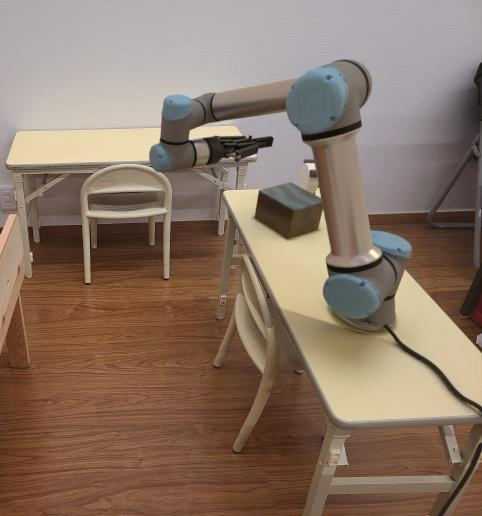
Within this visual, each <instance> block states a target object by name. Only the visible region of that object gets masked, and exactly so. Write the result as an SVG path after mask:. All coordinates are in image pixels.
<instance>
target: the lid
mask: <svg viewBox="0 0 482 516" xmlns="http://www.w3.org/2000/svg"><path fill="white" fill-rule="evenodd" d="M299 186H300V185H298V184H296V183H293V182H286V183H282V184H278V185H273V186H269V187H266V188H262V189H259V190H258V193H261V194H263V195H264V196H266V197H268V198H270V199H271V200H273V201H275V202H276V203H278V204H280V205H282V206H283V207H285V208H287V209H288V210H290V211H292V212H297V211H300V210H304V209H307V208H310V207H314V206H317V205H321V204H322V201H321V196H318V195H316V194H315V195H314V194H312V193H310V192H309V191H307V190H305V189H303V188H301V187H299Z"/></svg>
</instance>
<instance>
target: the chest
mask: <svg viewBox="0 0 482 516" xmlns="http://www.w3.org/2000/svg"><path fill="white" fill-rule="evenodd" d="M323 212H324V211H323V206H322V204H321V205H317V206H314V207H310V208H307V209H304V210H300V211H297V212H292V211H290V210H288V209H287V208H285V207H283V206H282V205H280V204H278V203H276V202H275V201H273V200H271V199H270V198H268V197H266V196H264V195H263V194H261V193H259V192H258V193H257V199H256V206H255V211H254V217H253V218H254V219H256V220H257V221H259V222H260V223H262V224H263V225H264V226H267V228H270V229H271V230H273V231H274V232H276V233H277V234H279V235H281V236H282V237H284V238H285V239H286V240H291V239H293V238H296V237H300V236H302V235H307V234H309V233H313V232H316V231H318V230H319V228H320V223H321V219H322V215H323Z"/></svg>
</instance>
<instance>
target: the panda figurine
mask: <svg viewBox="0 0 482 516" xmlns="http://www.w3.org/2000/svg"><path fill="white" fill-rule="evenodd" d="M298 186H299V187H301V188H303V189H305V190H307V191H309V192H310V193H312V194H314V195H316V192H317V190H318V189H319V185H318V179H317V174H316V169H315V163H314V159H313V158H312V159H309V158H308V159H307V158H305V159H303V164H302V167H301V170H300V178H299V185H298Z"/></svg>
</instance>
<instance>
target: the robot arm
mask: <svg viewBox="0 0 482 516" xmlns="http://www.w3.org/2000/svg"><path fill="white" fill-rule="evenodd" d="M372 89H373V79H372V76H371V72H370V71H369V69H368V68H367V67H366V66H365V65H364V64H363V63H361V62H360V61H358V60H355V59H351V58H342V59H337V60H334V61H332V62H329V63H326V64H324V65H320V66H316V67H313V68H311V69H309V70H308V71H306V72H304V73H303V74H302V75H299V76H294V77H288V78H283V79H277V80H273V81H268V82H262V83H258V84H253V85H247V86H242V87H238V88H232V89H227V90H223V91H218V92H207V93H204V94H202V95H199V96H196V97H194V98H191V97H190V96H188V95H185V94H170V95H167V96H166V97H164V98H163V102H162V109H161V114H160V115H161V119H160V134H159V135H160V137H159V141H158V142H157V143H155V144H153V145H152V146H151V147H150V150H149V152H148V158H149V159H148V160H149V164H150V166H151V168H152V170H153V171H155V172H156V173H169V172H170V173H173V171H179V170H180V171H181V170H184V169H191V168H192V169H194V168H197V167H203V166H209V165H216V164H218V163H219V162H220V161H221V160H222V159H230V158H233V159H234V162H236V163H238V162H240V161H241V160H243V159H246V158H249V157H252V156H254V155H257V154H258V152H259V149H265V148H272V147H273V144H274V139H275V137H273V136H271V135H267V136H262V137H254V138H253V135H248V137H247V136H246V135H213V136H205V137H198V138H197V137H196V138H192V139H190V132H191V131H192V130H195V129H198V128H200V127H201V126H204V125H208V124H214V123H220V122H225V121H232V120H238V119H239V120H240V119H246V118H253V117H260V116H266V115H274V114H282V113H286V116H287V117H288V120H289V122H290V123H291V125H292V126H293V127H295V128H296V129H297V131H299V132H300V136H301V141H302V143H304V144H306V145H307V146H308V147H309V148H311V153H312V159H313V160H314V163H315V169H316V174H317V179H318V185H319V188H318V189H319V190H318V191H319V195H320V198H321V201H322V206H323V211H322V212H323V217H324V220H325V222H324V223H325V227H326V232H327V238H328V243H329V249H330V252H329V253H328V254H327V255H326V257H325V265H326V271H327V276H328V278H327V279H326V280H325V281H324V282H323V286H322V296H323V298H324V301H325V302H326V304H327V306H328V307H329V308H331V312H332V314H333V316H334V317H335V318H336V319H337V320H338V321H339V322H341V323H342V324H343V325H345V326H347V327H349V328H351V329H353V330H355V331H356V330H357V331H360V332H363V333H370V334H371V333H372V334H377V333H384V332H386V331H387V333H389V335H390V336H391V337H392V339H393V340H394V341H395V342H396V343H397V345H399V346H400V347H401V348H402V349H403V350H404V351H406V352H408V353H409V354H410V355H412V356H414V357H415V358H417V359H419V360H421V361H422V362H424V364H427V365H428V366H429V367H430V368H432V369H433V370H434V371H435V372H436V374H438V375H439V376H440V378H441V379H442V380H443V383H444V384H445V385H446V386H447V387H448V389H450V391H451V392H452V393H453V394H454V395H455V396H456V397H457V398H459V400H461V401H463V402H464V403H466V404H468V405H470V406H472V407H473V408H475V409H477V410H478V411H479V412H480V413H481V414H482V405H480V404H479V403H478V402H475V401H474V400H473V399H470V398H468V397H466V396H465V395H463V394H462V393H461V392H460V391H459V390H458V389H457V388H456V387H455V386H454V384H453V383H452V382H451V381H450V379H449V378H448V377H447V375H445V373H444V372H443V371H442V370H441V369H440V368H439V367H438V366H437V365H436V364H435V363H434V362H432V361H431V360H430V359H429V358H426V356H424V355H421V354H420V353H419V352H417V351H415V350H414V349H412V348H410V347H409V346H407V345H406V344H405V343H404V342H403V341H402V340H401V339H400V338H399V337H398V336H397V334H396V333H395V332H394V331H393V329H392V327H393V325H394V323H395V320H396V315H397V313H396V295H397V292H398V290H399V286H400V284H401V282H402V279H403V277H404V274H405V272H406V271H405V270H406V269H407V265H408V263H409V260H410V259H411V258H412V256H411V255H412V252H413V247H412V245H411V243H410V242H409V241H407V240H406V239H405V238H403V237H401V236H399V235H396V234H393V233H390V232H387V231H384V230H371V225H370V219H369V213H368V206H367V199H366V195H365V188H364V183H363V175H362V170H361V163H360V157H359V152H358V146H357V138H356V137H357V135H358V134H359V132H360V131H361V130H362V128H363V122H362V117H361V110H360V109H362V108H363V107H364V106H365V104H367V102H368V100H369V98H370V96H371V93H372V91H373V90H372ZM481 454H482V441H481V442H479V443H478V444H477V447H476V449H475V452H474V455H473V457H472V459H471V461H470V464H469V466H468V468H467V469H466V471H465V473H464V474H463V476H462V478H461V480H460V481H459V482H458V484H457V486H456V487H455V489H454V490H453V491H452V493H451V494H450V496H449V497H448V499H447V500H446V501H445V503H444V505H442V508H441V509H440V511H439V512H438V514H437V516H444V515H445V514H446V512H448V511H447V510H448V509H449V508H450V506H451V505H452V503H453V502H454V501H455V499H456V498H457V497H458V495H459V494H460V492H461V491H462V489H463V488H464V487H465V485H466V483H467V482H468V480H469V479H470V477H471V476H472V473H473V471H474V470H475V468H476V467H477V464H478V461H479V459H480V457H481Z"/></svg>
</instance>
